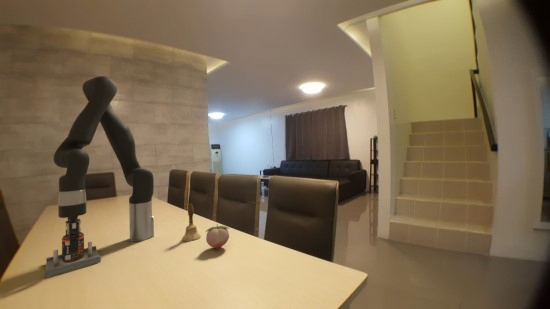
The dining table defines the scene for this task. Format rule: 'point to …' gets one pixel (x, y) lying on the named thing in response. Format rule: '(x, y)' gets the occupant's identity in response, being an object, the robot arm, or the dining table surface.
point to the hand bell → (191, 227)
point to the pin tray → (59, 267)
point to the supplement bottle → (72, 255)
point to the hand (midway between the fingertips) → (73, 247)
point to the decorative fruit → (217, 236)
